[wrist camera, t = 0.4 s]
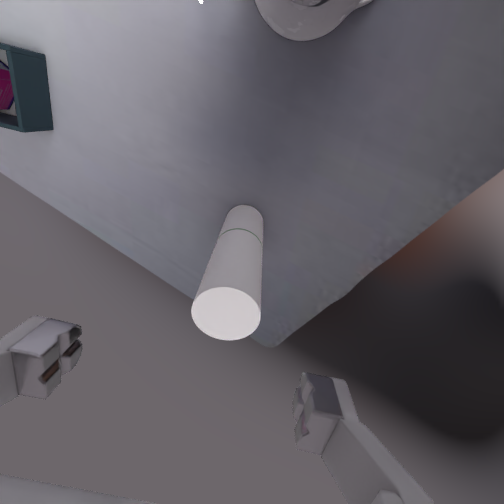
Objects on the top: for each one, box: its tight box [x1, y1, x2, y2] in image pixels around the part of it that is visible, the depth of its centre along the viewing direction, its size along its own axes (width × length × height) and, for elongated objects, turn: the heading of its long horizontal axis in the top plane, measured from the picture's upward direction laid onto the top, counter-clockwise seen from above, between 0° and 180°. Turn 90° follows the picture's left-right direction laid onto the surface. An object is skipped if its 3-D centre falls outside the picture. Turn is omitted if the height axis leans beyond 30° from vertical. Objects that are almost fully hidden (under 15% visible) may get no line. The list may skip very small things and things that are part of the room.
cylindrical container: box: [191, 205, 263, 340], centre depth 38 cm, size 7×7×25 cm
